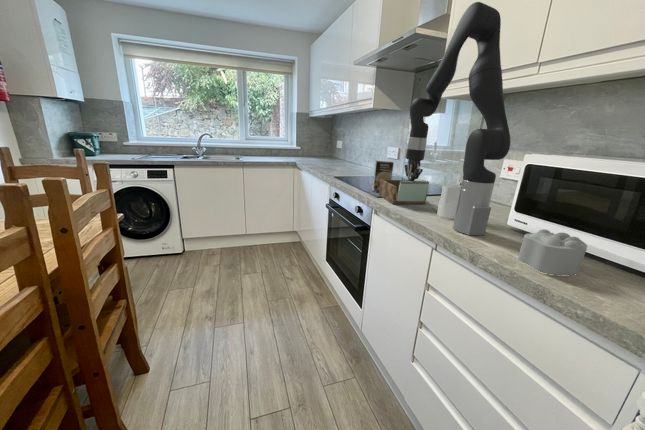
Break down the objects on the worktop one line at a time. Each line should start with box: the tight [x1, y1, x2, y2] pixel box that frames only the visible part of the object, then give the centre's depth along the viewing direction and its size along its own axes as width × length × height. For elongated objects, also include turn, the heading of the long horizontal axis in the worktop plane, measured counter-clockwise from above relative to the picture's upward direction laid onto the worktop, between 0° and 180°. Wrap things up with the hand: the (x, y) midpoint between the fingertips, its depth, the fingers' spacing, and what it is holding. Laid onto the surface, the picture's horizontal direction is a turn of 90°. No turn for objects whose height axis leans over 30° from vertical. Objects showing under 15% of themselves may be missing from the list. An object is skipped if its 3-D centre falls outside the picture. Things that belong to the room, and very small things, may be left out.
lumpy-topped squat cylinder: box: [517, 228, 588, 276], centre depth 70 cm, size 10×13×9 cm
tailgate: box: [397, 180, 430, 201], centre depth 122 cm, size 1×13×9 cm, turn 99°
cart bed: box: [378, 179, 429, 205], centre depth 133 cm, size 18×16×8 cm
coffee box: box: [371, 160, 394, 193], centre depth 149 cm, size 9×6×16 cm
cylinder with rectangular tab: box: [436, 185, 461, 220], centre depth 109 cm, size 9×9×12 cm
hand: (410, 187), depth 124 cm, fingers closed
